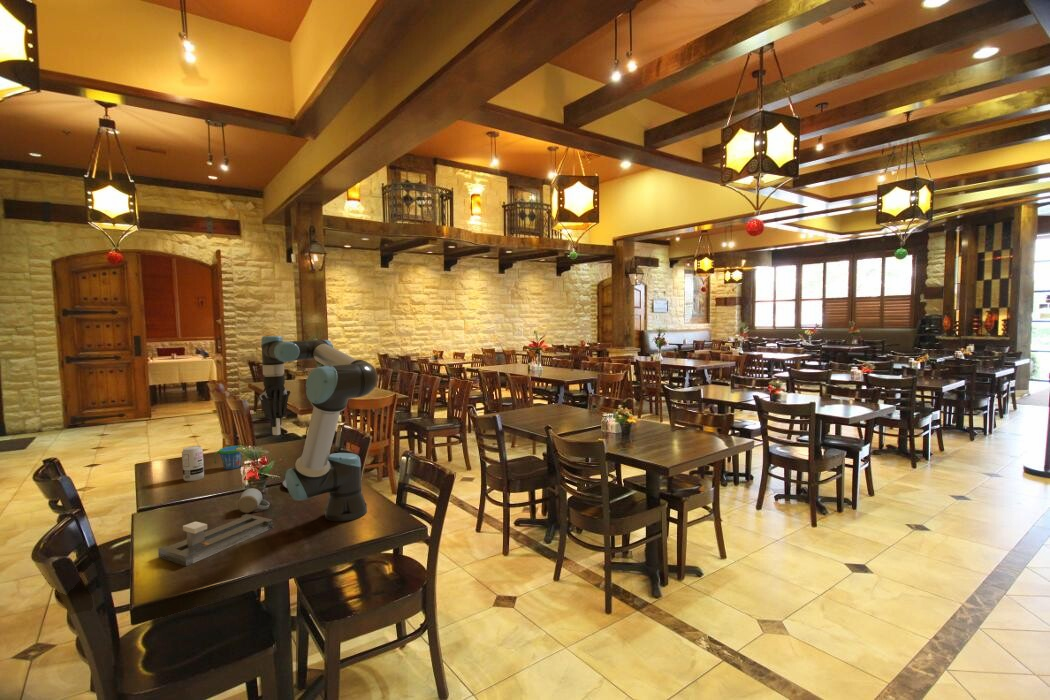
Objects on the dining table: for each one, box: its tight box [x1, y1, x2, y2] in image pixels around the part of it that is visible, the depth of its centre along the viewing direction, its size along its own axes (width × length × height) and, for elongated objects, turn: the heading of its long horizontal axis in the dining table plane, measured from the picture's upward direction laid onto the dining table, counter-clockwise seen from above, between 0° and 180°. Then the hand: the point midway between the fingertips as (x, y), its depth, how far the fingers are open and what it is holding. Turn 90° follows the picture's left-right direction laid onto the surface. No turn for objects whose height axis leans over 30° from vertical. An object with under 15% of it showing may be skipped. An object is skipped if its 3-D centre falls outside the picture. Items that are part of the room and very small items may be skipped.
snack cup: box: [213, 445, 244, 470], centre depth 251 cm, size 16×10×10 cm
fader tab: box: [182, 521, 208, 548], centre depth 159 cm, size 4×6×7 cm, turn 65°
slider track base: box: [157, 513, 274, 567], centre depth 166 cm, size 30×14×3 cm, turn 155°
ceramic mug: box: [237, 487, 271, 514], centre depth 194 cm, size 11×8×8 cm
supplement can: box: [181, 445, 205, 482], centre depth 234 cm, size 8×8×15 cm
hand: (276, 434), depth 195 cm, fingers closed
